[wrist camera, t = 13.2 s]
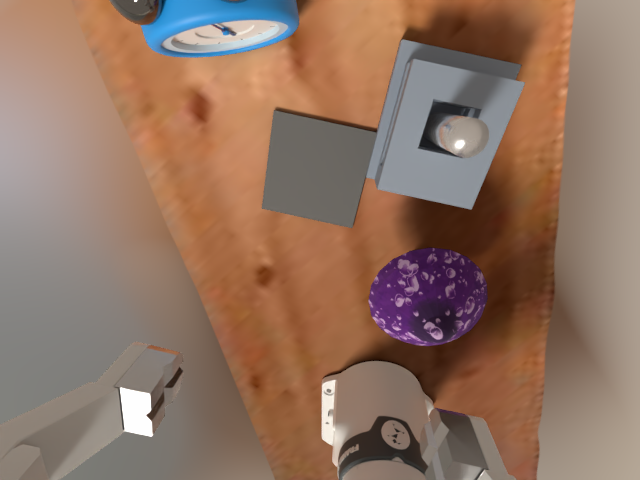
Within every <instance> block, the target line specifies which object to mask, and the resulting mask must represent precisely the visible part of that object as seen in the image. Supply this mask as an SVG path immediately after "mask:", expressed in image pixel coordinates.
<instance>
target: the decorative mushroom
mask: <svg viewBox="0 0 640 480" xmlns="http://www.w3.org/2000/svg"><path fill="white" fill-rule="evenodd" d="M486 302H487V283H486V281H485V279H484V276H483V274H482V272H481V270H480V268H479V267H478V266H476V265H475V264H474V263H473V262H472V261H471V260H470V259H469V258H468V257H466V256H463V255H461V254H459V253H456V252H454V251H452V250H447V249H438V248H425V249H420V250H414V251H409V252H407V253H405V254H403V255H401V256H399V257H397V258H395V259H393V260H392V261H390V262H389V263H388V264H387V265H386V266H385V267H384V268H383V269H381V270H380V271H379V273H378V275H377V276H376V278H375V280H374V282H373V283H372V285H371V290H370V296H369V305H370V310H371V315H372V317H373V318H374V320H375V321H376V323H377V325H378V326H379V327H380V328H381V329H382V330H383V331H385V332H386V333H387V334H388V335H390V336H391V337H393V338H396V339H398V340H401V341H403V342H406V343H411V344H413V345H422V346H432V345H440V344H444V343H447V342H450V341H452V340H455V339H457V338H459V337H461V336H462V335H464V334H465V333H467V332H468V331H470V330H471V329H472V328H473V327H474V325H475V324H476V323H477V322H478V320H479V319H480V318H481V316H482V313H483V310H484V307H485V305H486Z"/></svg>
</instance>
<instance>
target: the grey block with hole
mask: <svg viewBox="0 0 640 480" xmlns="http://www.w3.org/2000/svg"><path fill="white" fill-rule="evenodd" d="M520 68H521V65H520V64H516V63H511V62H506V61H501V60H497V59H492V58H487V57H483V56H478V55H473V54H469V53H464V52H459V51H455V50H450V49H445V48H441V47H436V46H431V45H426V44H422V43H417V42H412V41H408V40H403V39H402V40H401V41H400V44H399V47H398V51H397V55H396V59H395V63H394V67H393V71H392V75H391V78H390V82H389V86H388V90H387V94H386V98H385V102H384V106H383V109H382V113H381V117H380V121H379V125H378V129H377V134H376V138H375V142H374V146H373V149H372V153H371V157H370V161H369V165H368V169H367V173H366V178H371V179H375V183H376V186H377V189H379V190H383V191H388V192H392V193H397V194H402V195H406V196H411V197H416V198H420V199H425V200H429V201H434V202H439V203H443V204H448V205H452V206H457V207H462V208H466V209H471V210H472V207H473V205H474V203H475V200H476V198H477V195H478V193H479V191H480V188H481V186H482V184H483V181H484V179H485V177H486V174H487V172H488V169H489V167H490V165H491V162H492V160H493V158H494V155H495V153H496V151H497V148H498V146H499V143H500V141H501V139H502V136H503V134H504V132H505V129H506V127H507V125H508V122H509V120H510V117H511V115H512V113H513V110H514V108H515V106H516V103H517V101H518V99H519V96H520V94H521V91H522V89H523V87H524V84H525V82H520V81H516V77H517V75H518V72H519V70H520ZM437 112H441V113H447V114H453V115H459V116H465V117H471V118H477V119H480V120H482V121H483V122H484V123H485V124H486V125H487V127H488V129H489V140H488V143H487V145H486V146H485V148H484V149H483V150H482V151H481V152H480V153H479V154H477V155H475V156H473V157H470V158H462V157H459V156H457V155H455V154H453V153H451V152H449V151H447V150H445V149H444V148H442V147H440V146H438V145H436V144H434V143H433V142H431V141H429V140H427V139H426V138H425V137H424V135H423V131H424V128H425V125H426V121H427V118H428V116H429V115H431V114H433V113H437Z"/></svg>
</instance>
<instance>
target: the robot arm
mask: <svg viewBox="0 0 640 480" xmlns="http://www.w3.org/2000/svg"><path fill="white" fill-rule="evenodd" d="M182 362H183V354H182V353H180V352H176V351H172V350H168V349H164V348H160V347H156V346H152V345H148V344H144V343H139V342H134V343H132V344H131V345H129V347H128V348H127V349H126V350H125V351H124V352H123V353H122V354H121V355H120V357H119V358H118V359H117V360H116V361H115V362H114V363H113V364H112V365H111V366H110V367H109V368H108V369H107V371H106V372H105V373H104V374H103V375H102V376H101V377H100V378H99V379H98V380H97V381H96V383H92V382H89V383H87V384H85V385H83V386H81V387H79V388H77V389H74V390H72V391H70V392H68V393H66V394H64V395H62V396H60V397H58V398H56V399H53V400H52V401H49V402H47V403H45V404H43V405H41V406H39V407H37V408H34V409H32V410H30V411H28V412H26V413H24V414H22V415H20V416H18V417H15V418H13V419H11V420H9V421H7V422H5V423H3V424H1V425H0V480H59V479H61V478H62V477H64V476H65V475H66V474H68V473H69V472H70V471H72V470H73V469H75V468H76V467H77V466H79V465H80V464H81V463H83V462H84V461H86V460H87V459H88V458H90V457H91V456H92V455H94V454H95V453H96V452H98V451H99V450H101V449H102V448H103V447H105V446H106V445H107V444H109V443H110V442H112V441H113V440H114V439H116V438H117V437H118V436H120V435H121V434H122V433H123V431H126V432H132V433H137V434H142V435H148V436H153V434H154V433H155V431H156V429H157V428H158V426H159V424H160V423H161V421H162V419H163V418H164V416H165V407H166V406H167V405H169V404H171V403H172V402H173V401H174V399H175V397H176V396H177V394H178V392H179V389H180V386H181V384H182V379H183V370H182V369H181V368H180V365H181V364H182ZM429 418H430V421H429ZM322 439H323V440H324V441H326V442H327V443H328V444H330V445H332V446H333V454H332V461H333V463H334V464H335V466H337V467H338V478H339V480H517V479H516V478H515V477H514V476H512V475H508V473H507V471H506V468H505V466H504V464H503V461H502V459H501V457H500V454H499V452H498V450H497V447H496V445H495V442H494V440H493V438H492V435H491V433H490V431H489V428H488V426H487V424H486V422H485V420H484V419H483V418H479V417H475V416H470V415H465V414H462V413H457V412H452V411H447V410H442V409H438V408H434V406H433V401H432V400H431V399H430V398H429V397H428V396H427V395H426V394H425V393H424V392H423V391H422V388H421V386H420V383H419V381H418V380H417V378H416V377H415V376H414V375H413V374H412V373H411V372H410V371H408V370H407V369H405V368H403V367H401V366H399V365H396V364H393V363H389V362H383V361H369V362H363V363H359V364H356V365H354V366H351V367H350V368H348V369H346V370H345V371H343V372H341V373H339V374H336V375H331V376H328V377H325V378H324V379H323V380H322Z"/></svg>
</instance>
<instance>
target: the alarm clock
mask: <svg viewBox="0 0 640 480" xmlns="http://www.w3.org/2000/svg"><path fill="white" fill-rule="evenodd" d="M109 1H110V2H111V4H112V5H113V6H114V8H115V9H116V10H117V11H118V12H119V13H120V14H121V15H122V16H123V17H125V18H126V19H127V20H129V21H131V22H133V23H135V24H138V25H141V27H142V30H143V33H144V36H145V39H146V42H147V44H148V46H149V47H150V48H151V49H152V50H154V51H156V52H158V53H160V54H163V55H167V56H173V57H212V56H221V55H229V54H235V53H241V52H246V51H250V50H254V49H258V48H262V47H265V46H268V45H271V44H274V43H277V42H279V41H282V40H284V39H286V38H287V37H289V36H290V35H292V34H293V33H294V32H295V31H296V30H297V28H298V25H299V15H298V9H297V3H296V0H109Z"/></svg>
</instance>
